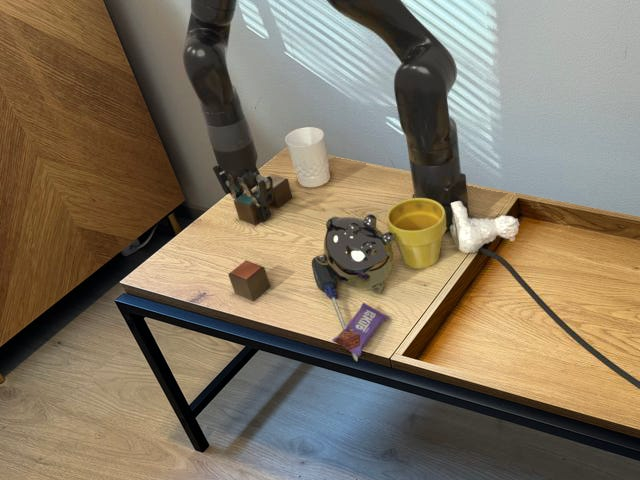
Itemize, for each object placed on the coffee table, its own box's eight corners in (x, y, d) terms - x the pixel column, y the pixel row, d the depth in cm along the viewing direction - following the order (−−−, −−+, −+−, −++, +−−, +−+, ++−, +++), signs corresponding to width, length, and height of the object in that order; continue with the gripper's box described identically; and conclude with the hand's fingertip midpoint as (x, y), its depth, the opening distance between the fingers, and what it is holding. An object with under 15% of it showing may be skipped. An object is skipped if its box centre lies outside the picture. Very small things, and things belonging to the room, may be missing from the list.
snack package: (365, 298, 135) (390, 313, 135) (361, 306, 136) (387, 321, 136) (333, 336, 126) (360, 352, 126) (330, 344, 127) (357, 360, 127)
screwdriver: (364, 365, 129) (378, 348, 128) (347, 358, 127) (361, 341, 126) (318, 273, 146) (330, 257, 145) (302, 265, 144) (315, 250, 143)
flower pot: (420, 283, 142) (415, 238, 135) (381, 260, 147) (374, 216, 140) (460, 255, 147) (457, 210, 140) (421, 234, 152) (416, 190, 146)
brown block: (293, 197, 165) (287, 178, 161) (278, 209, 162) (272, 189, 159) (276, 192, 166) (271, 172, 163) (261, 203, 164) (256, 183, 161)
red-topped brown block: (270, 287, 144) (264, 266, 140) (253, 301, 141) (246, 280, 138) (252, 279, 146) (245, 259, 142) (235, 293, 143) (227, 273, 140)
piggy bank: (320, 206, 132) (295, 253, 139) (383, 269, 130) (354, 313, 137) (361, 190, 140) (336, 235, 148) (421, 249, 139) (392, 291, 146)
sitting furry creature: (449, 229, 152) (509, 218, 154) (459, 267, 149) (521, 255, 151) (450, 199, 144) (514, 188, 146) (461, 239, 140) (527, 227, 142)
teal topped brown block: (271, 214, 161) (265, 194, 157) (255, 225, 158) (249, 205, 155) (254, 208, 163) (248, 188, 159) (239, 219, 160) (232, 199, 157)
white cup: (288, 184, 168) (277, 142, 161) (310, 166, 173) (300, 124, 166) (318, 192, 165) (308, 149, 158) (340, 173, 170) (331, 130, 163)
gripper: (273, 139, 148) (294, 216, 159) (218, 122, 154) (242, 197, 165) (245, 158, 143) (268, 235, 155) (189, 140, 149) (216, 216, 161)
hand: (254, 215), depth 160 cm, fingers open, 4 cm apart
